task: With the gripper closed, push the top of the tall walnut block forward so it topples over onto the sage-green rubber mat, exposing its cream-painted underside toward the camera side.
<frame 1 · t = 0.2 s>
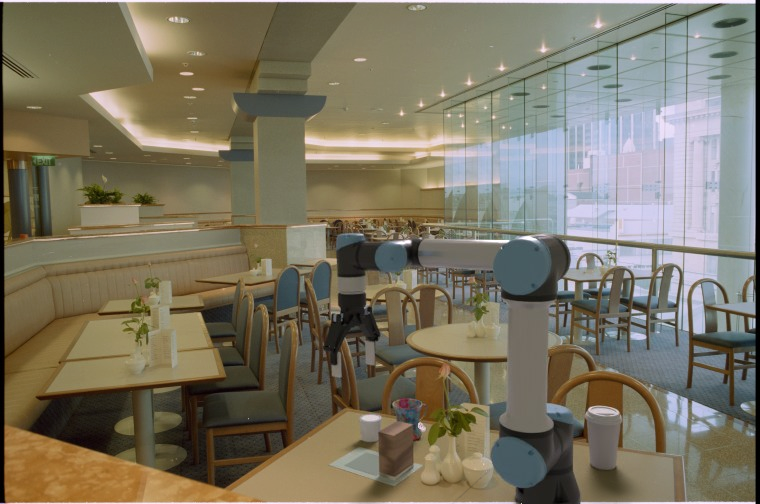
hand: (354, 370, 158), 28 cm above the table, fingers open, 13 cm apart
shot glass: (370, 440, 180), on the table
coffee cup: (602, 465, 160), on the table
walnut block: (396, 471, 158), resting on rubber mat
mug: (411, 436, 182), on the table
rubber mat: (375, 466, 162), on the table
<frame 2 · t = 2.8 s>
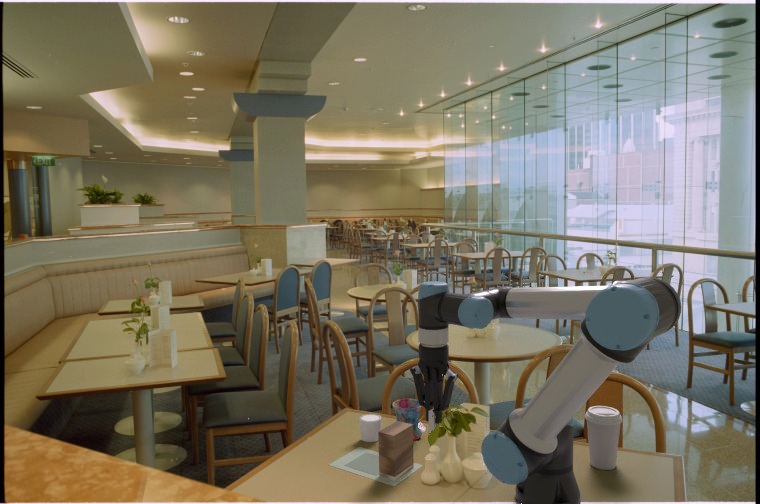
hand: (433, 434, 150), 13 cm above the table, fingers closed
nothing on the table moved.
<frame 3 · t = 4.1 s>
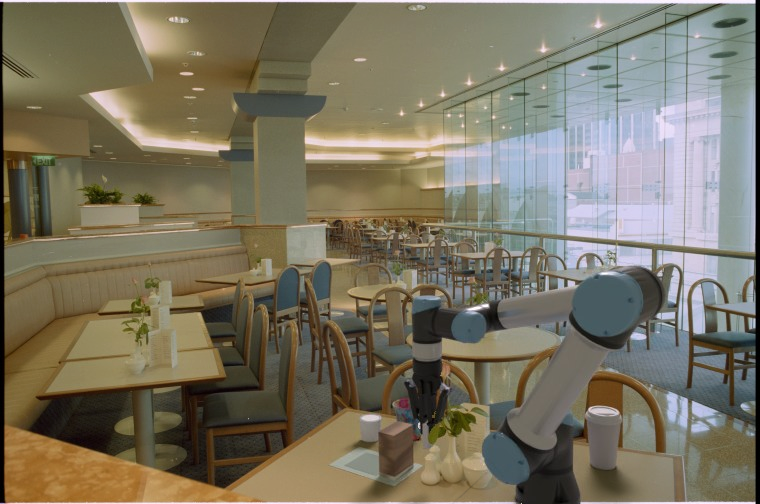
hand: (428, 447, 151), 10 cm above the table, fingers closed
nothing on the table moved.
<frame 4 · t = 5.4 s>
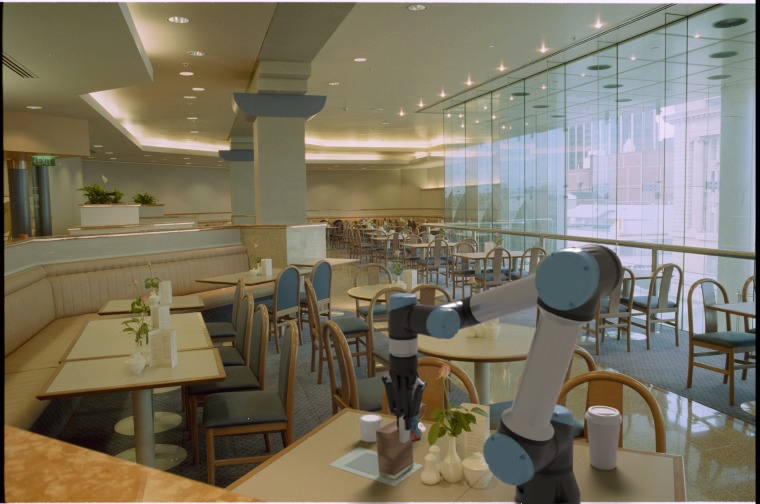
hand: (404, 440, 155), 10 cm above the table, fingers closed
walnut block: (396, 470, 158), point 1 cm above the table, touching gripper, rubber mat
everything else where it was.
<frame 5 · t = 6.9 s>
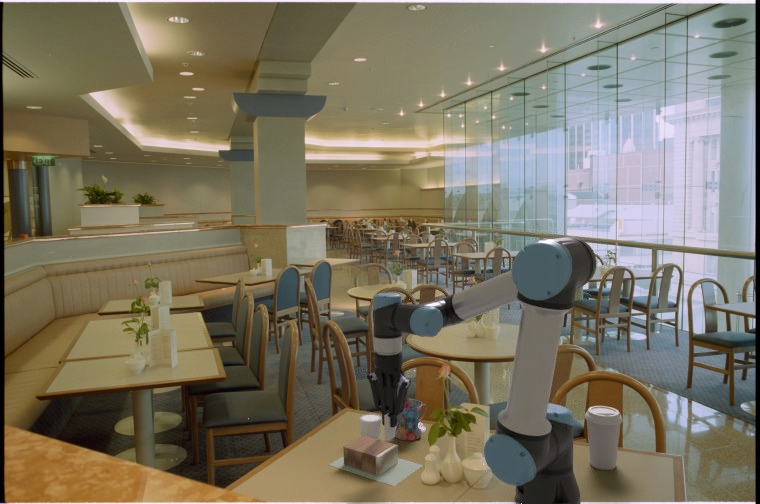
hand: (389, 437, 158), 9 cm above the table, fingers closed
walnut block: (388, 460, 159), point 3 cm above the table, tilted 90°, touching rubber mat
everything else where it was.
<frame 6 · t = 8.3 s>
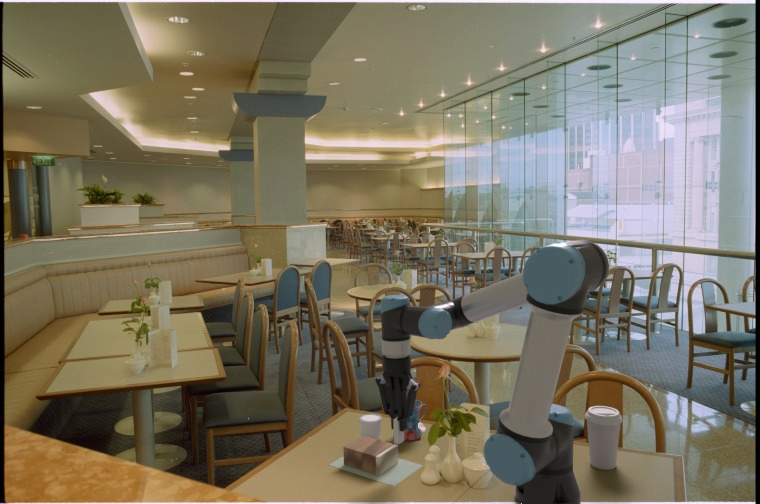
hand: (399, 441, 156), 9 cm above the table, fingers closed
nothing on the table moved.
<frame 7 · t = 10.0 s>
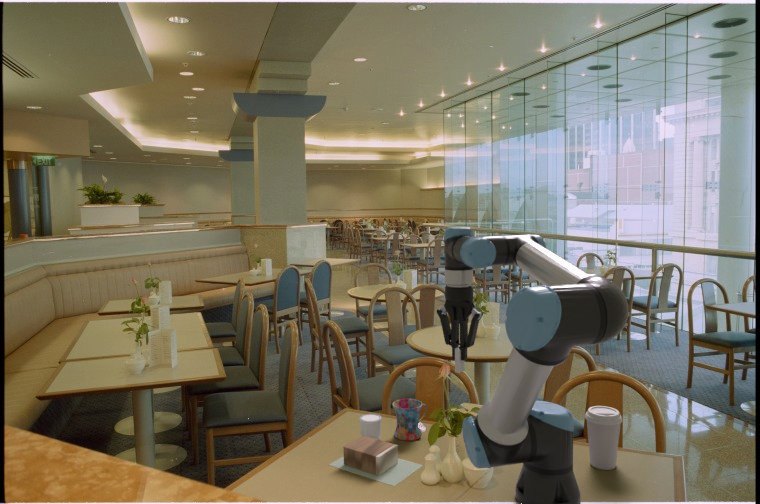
hand: (459, 371, 159), 26 cm above the table, fingers closed
nothing on the table moved.
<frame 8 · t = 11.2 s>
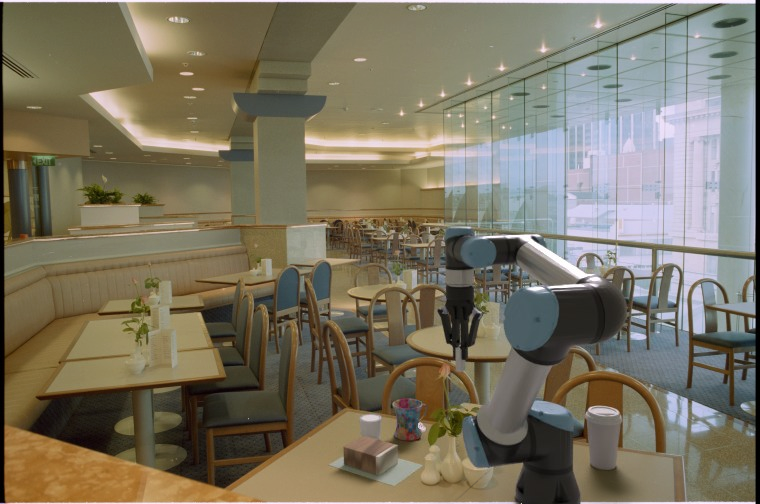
hand: (460, 370, 159), 26 cm above the table, fingers closed
nothing on the table moved.
at the end: walnut block tilted 90°; walnut block inside the target area on the rubber mat (3.0 cm from its centre), point 3.1 cm above the rubber mat's base; walnut block touching rubber mat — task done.
